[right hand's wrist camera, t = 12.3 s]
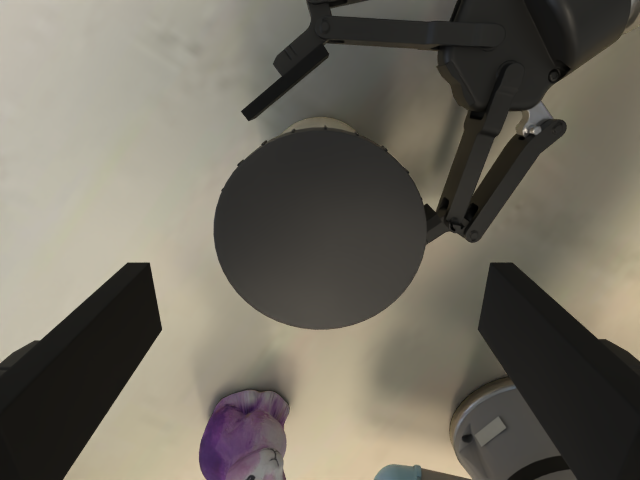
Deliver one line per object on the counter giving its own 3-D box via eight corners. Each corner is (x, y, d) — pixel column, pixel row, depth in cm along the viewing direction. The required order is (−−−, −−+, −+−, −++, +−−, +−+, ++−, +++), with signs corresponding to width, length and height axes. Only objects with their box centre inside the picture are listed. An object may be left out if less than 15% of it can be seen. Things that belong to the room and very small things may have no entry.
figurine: (297, 383, 42) (286, 527, 28) (284, 448, 46) (269, 603, 32) (213, 372, 42) (159, 513, 28) (207, 438, 45) (158, 592, 31)
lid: (230, 106, 18) (221, 107, 16) (446, 149, 18) (458, 154, 17) (212, 297, 21) (203, 313, 20) (391, 326, 22) (396, 344, 20)
